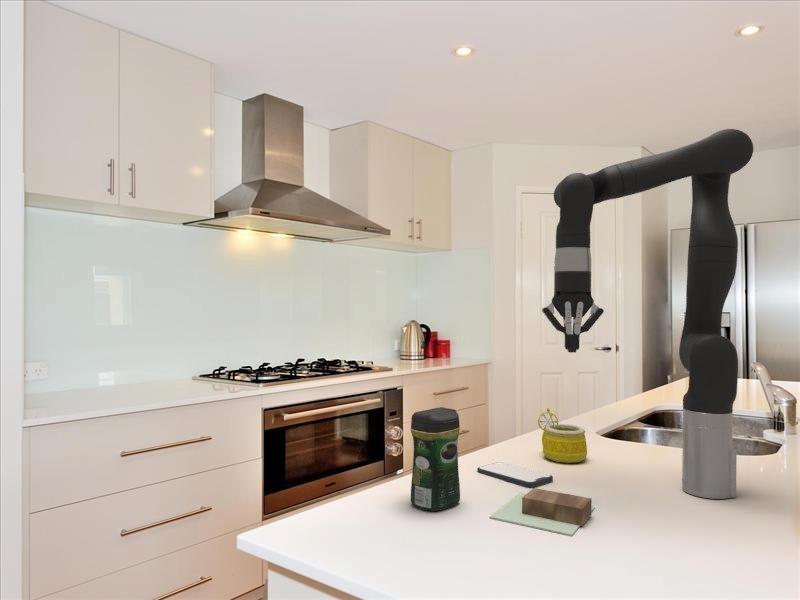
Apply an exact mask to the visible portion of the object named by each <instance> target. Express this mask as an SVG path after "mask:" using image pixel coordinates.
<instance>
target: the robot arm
mask: <svg viewBox="0 0 800 600" xmlns="http://www.w3.org/2000/svg"><path fill="white" fill-rule="evenodd" d="M753 153H754V143H753V141H752V138H750V136H749V135H748V134H747V132H746V133H745V132H744V131H742V130H741V129H735V128H726V129H725V128H724V129H722V130H721V129H720V130H718V131H715V132H714V133H712V134H711V135H709V136H707V137H705V138H703V139H700V140H698V141H696V142H692V143H690V144H687V145H684V146H682V147H678V148H675V149H672V150H669V151H668V150H667V151H665V152H660V153H656V154H652V155H648V156H644V157H639V158H636V159H632V160H627V161H623V162H619V163H615V164H612V165H609V166H606V167H604V168H603V167H602V169H600V170H598V171H596V172H592V173H588V174H584V173H582V172H574V173H571V174H568V175H567V176H565V177H564V178H563V179H562V180H561V181H560V182H559V183H558V184H557V185H556V186H555V188H554V190H553V191H554V192H553V201H554V203H555V205H556V206H557V207H558V208H559V222H558V223H557V226H556V230H555V253H554V254H555V255H554V261H553V262H554V265H553V270H554V273H553V276H554V277H553V279H554V281H553V282H554V283H553V286H554V287H553V296H552V298H551V303H549V304H548V305H547V306H545V307H542V308H541V312H542V313H543V314H544V316H545V318H547V320H548V322H550V324H551V325H552V326H553V327H554V329H555V330H556V331H559V332H561V333H563V335H564V348H565V350H567V352H568V353H577V350H578V351H579V349H580V335H581V334H583V333H585V332H586V333H588V332H589V331H590V330H591V329H592V327H593V326H594V324H595V323H596V322H597V321H598V319H600V317H601V316H602V315H603V314H604V313H605V311H604V309H603V307H602V308H601V307H599V306H598V305H597V304H595V300H594V299H593V297H592V254H591V222H592V217H593V211H594V205H597V204H600V203H602V202H603V203H604V202H605V201H610V200H615V199H621V198H624V197H628V196H631V195H636V194H640V193H642V192H646V191H649V190H652V189H655V188H659V187H661V186H664V185H667V184H670V183H673V182H675V181H678V180H682V179H686V178H690V177H691V197H692V198H691V201H692V202H691V213H690V214H691V215H690V224H689V225H690V226H689V237H688V238H689V241H688V246H687V247H688V251H687V265H686V266H687V268H686V269H687V271H686V273H687V275H686V289H685V291H686V294H685V295H686V298H685V301H686V302H685V312H684V313H685V314H684V320H683V324H682V325H683V327H682V331H681V337H680V342H679V348H678V356H679V360H680V362H681V365H682V366H683V367H684V369H686V371H688V373H689V374H688V388H687V391H686V393H685V394H684V395H683V398H682V466H681V467H682V468H681V469H682V471H681V473H682V475H681V476H682V477H681V481H682V482H681V483H682V484H681V486H682V487H681V489H682V491H683V492H685V493H687V494H689V495H692V496H696V497H698V498H699V497H700V498H705V499H712V500H713V499H714V500H715V499H716V500H725V499H730V498H737V455H738V454H737V450H736V449H734V448H733V415H734V414H733V412H734V403H735V401H736V398H737V394H738V380H739V379H738V375H739V358H738V357H739V355H738V351H737V349H736V346H735V344H734V343H733V342H732V341H731V340H730V339H729V338H727V337H725V336H723V335H722V319H723V318H722V317H723V312H724V311H723V309H724V307H725V303H726V301H727V298H728V296H729V293H730V290H731V288H732V286H733V282H734V280H735V276H736V272H737V268H738V266H737V265H738V251H739V249H738V247H739V239H738V238H739V237H738V234H737V230H736V226H735V224H734V220H733V218H732V214H731V212H730V207H729V189H730V180H731V175H733V174H735V173H737V172H739V171H741V170H742V169H743V168H745V166H747V164H748V163H750V161H751V158H752V157H753ZM555 310H556V311H557V313H558V314H559V315H560V316H561V317H562V322H563V325H562V324H561V323H560V321H559V320H558V319H557V317H556V316H555V315H554V314H555ZM589 310H590V311H589ZM588 312H589V315H590V316H589V317H588V318H587V319H586V320H585V322H584V323H583V318H584V317H585V316H586V314H587V313H588ZM582 323H583V324H582Z"/></svg>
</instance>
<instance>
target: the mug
mask: <svg viewBox="0 0 800 600" xmlns="http://www.w3.org/2000/svg"><path fill="white" fill-rule="evenodd" d="M550 411H551V410H550V409H549V407H548V408H546V411H545V412H542V413H541V414H540V415H539V416H538V420H537V424H538V427H539V428H540V429H541V430H542V435H541V445H542V453H543V455H544V457H545V458H547V459H548V460H551V461H553V462H556V463H557V462H558V463H564V464H575V463H581V462H582V461H584V460H586V458H587V456H588V447H587V446H588V445H587V439H586V435H585V433H586V430H585V429H584V428H583V427H581V426H578V425H574V424H567V423H559V418H558V416H556V414H554V413H553V412H550ZM545 414H548V415H549V418H547V417H546V415H545ZM542 416H543V418H544V419H545V420H546V421H543V420H540V418H541V417H542ZM553 416H554V418H555V419H556V420H554V419H553ZM550 420H551V421H550ZM542 423H543V424H544V423H546V424H545V426H544V427H542V426H541V424H542Z"/></svg>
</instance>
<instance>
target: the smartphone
mask: <svg viewBox="0 0 800 600" xmlns="http://www.w3.org/2000/svg"><path fill="white" fill-rule="evenodd" d="M476 470H477V473H479V474H481V475H484V476H488V477H491V478H494V479H497V480H501V481H504V482H507V483H509V484H514V485H517V486H520V487H524V488H527V489H533V488H539V487H542V486H544V485H548V484H551V483H553V482H554V477H553V475H552V474H548V473H544V472H540V471H538V470H537V471H536V470H532V469H530V468H526V467H521V466H516V465H513V464H509V463H505V462H500V461H499V462H495V463H489V464H486V465H482V466H478V467H477V469H476Z"/></svg>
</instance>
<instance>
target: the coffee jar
mask: <svg viewBox="0 0 800 600" xmlns="http://www.w3.org/2000/svg"><path fill="white" fill-rule="evenodd" d="M459 416H460V415H459V413H458V412H457V410H456V409H453V408H448V407H443V406H442V407H434V408H429V409H425V410H420V411H415V412H414V413H413V414H412V415H411V423H410V433H411V436H412V440H413V459H412V475H411V487H410V502H411V505H413V506H414V507H416V508H418V509H419V510H424V511H426V510H427V511H433V512H436V511H441V510H444V509H447V508H450V507H453V506H455V505H457V504H458V503H459V502H460V500H461V487H460V475H459V457H458V455H459V454H458V453H459V452H458V442H459V441H458V440H459V435H460V428H461V427H460V425H461V424H460V417H459Z"/></svg>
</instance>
